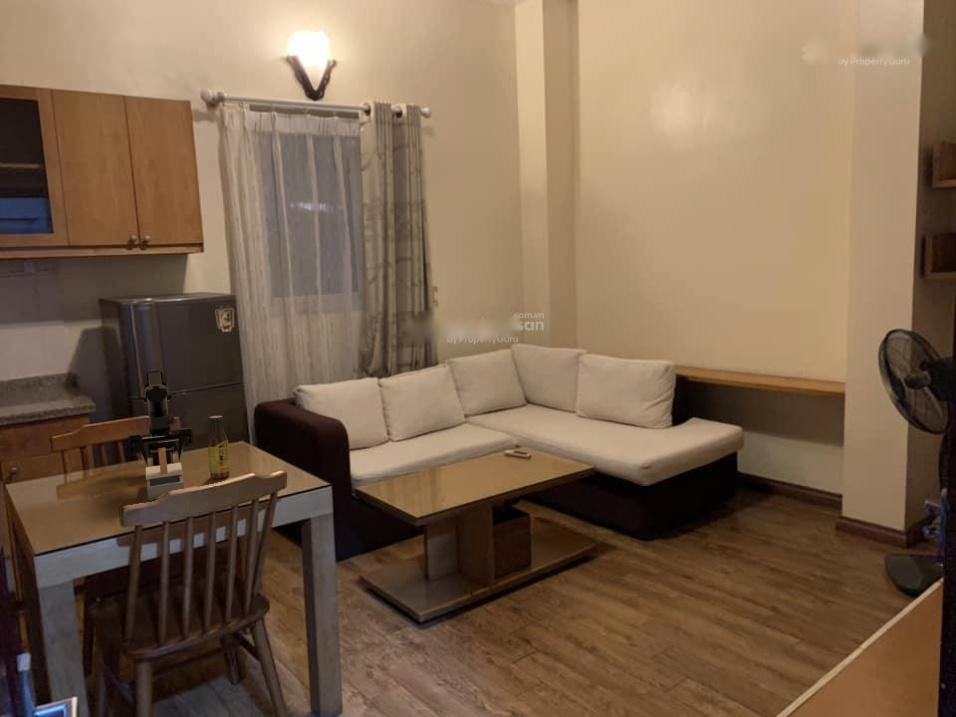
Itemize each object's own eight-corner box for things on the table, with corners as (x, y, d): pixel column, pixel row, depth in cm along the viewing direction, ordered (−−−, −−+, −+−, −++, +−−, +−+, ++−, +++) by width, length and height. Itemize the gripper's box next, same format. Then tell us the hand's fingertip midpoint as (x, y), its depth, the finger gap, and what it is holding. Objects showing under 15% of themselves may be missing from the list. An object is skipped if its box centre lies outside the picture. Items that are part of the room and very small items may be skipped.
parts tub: (148, 489, 222) (146, 477, 222) (182, 484, 227) (181, 472, 226) (148, 500, 212) (146, 487, 211) (184, 494, 216) (183, 482, 215)
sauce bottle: (223, 479, 230) (218, 419, 228) (206, 479, 232) (200, 419, 229) (234, 473, 237) (229, 414, 234) (217, 473, 238) (212, 414, 235)
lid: (146, 469, 230) (143, 444, 229) (180, 464, 234) (178, 440, 233) (146, 479, 218) (143, 453, 217) (182, 474, 223) (180, 448, 222)
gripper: (124, 409, 220) (127, 452, 212) (189, 402, 228) (194, 443, 220) (127, 429, 229) (130, 471, 220) (190, 422, 236) (195, 462, 228)
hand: (163, 462), depth 222 cm, fingers open, 9 cm apart
